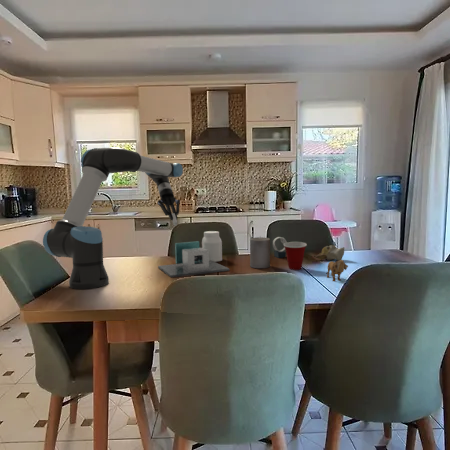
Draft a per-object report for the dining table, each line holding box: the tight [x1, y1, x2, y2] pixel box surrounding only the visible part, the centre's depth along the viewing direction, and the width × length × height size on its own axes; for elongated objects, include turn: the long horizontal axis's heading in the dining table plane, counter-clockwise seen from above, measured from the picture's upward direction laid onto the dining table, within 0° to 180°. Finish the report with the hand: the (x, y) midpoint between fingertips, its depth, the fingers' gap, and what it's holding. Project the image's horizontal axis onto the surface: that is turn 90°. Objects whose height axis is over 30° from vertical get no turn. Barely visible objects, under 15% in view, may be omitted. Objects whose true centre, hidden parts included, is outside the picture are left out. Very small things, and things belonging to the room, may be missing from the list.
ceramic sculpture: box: [313, 243, 346, 261], centre depth 192 cm, size 11×9×15 cm
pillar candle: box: [249, 236, 271, 269], centre depth 178 cm, size 10×10×15 cm
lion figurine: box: [325, 259, 349, 282], centre depth 152 cm, size 15×5×9 cm, turn 12°
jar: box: [201, 230, 223, 263], centre depth 196 cm, size 12×10×15 cm
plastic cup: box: [283, 241, 308, 271], centre depth 172 cm, size 11×11×12 cm
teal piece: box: [174, 240, 201, 264], centre depth 176 cm, size 12×12×10 cm
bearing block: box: [157, 247, 230, 279], centre depth 174 cm, size 28×22×10 cm
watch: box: [272, 236, 287, 259], centre depth 202 cm, size 6×8×11 cm
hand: (175, 224), depth 196 cm, fingers closed
